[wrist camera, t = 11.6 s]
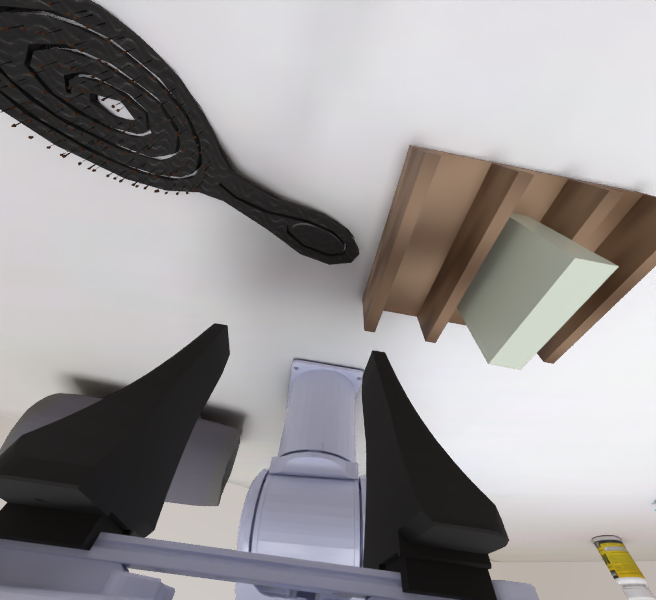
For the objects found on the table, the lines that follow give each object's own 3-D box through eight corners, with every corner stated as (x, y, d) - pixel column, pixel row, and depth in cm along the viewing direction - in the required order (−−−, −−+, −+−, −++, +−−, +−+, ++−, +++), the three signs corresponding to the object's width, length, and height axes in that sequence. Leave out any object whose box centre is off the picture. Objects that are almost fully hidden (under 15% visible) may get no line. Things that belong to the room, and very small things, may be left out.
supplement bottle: (590, 536, 54) (624, 597, 47) (618, 534, 52) (658, 597, 45) (593, 542, 56) (626, 601, 49) (620, 540, 54) (659, 601, 47)
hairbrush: (327, 308, 21) (-90, 98, 13) (328, 283, 24) (-12, 100, 16) (395, 223, 16) (-166, -163, 9) (386, 206, 19) (-39, -94, 12)
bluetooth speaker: (247, 407, 34) (216, 497, 26) (242, 439, 40) (214, 522, 32) (67, 368, 32) (-29, 453, 24) (87, 407, 37) (15, 488, 29)
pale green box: (474, 300, 21) (520, 369, 15) (450, 296, 21) (488, 364, 15) (527, 215, 17) (618, 266, 11) (498, 209, 17) (575, 258, 11)
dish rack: (525, 329, 23) (553, 363, 20) (362, 300, 23) (364, 330, 20) (640, 192, 16) (712, 211, 13) (409, 145, 16) (425, 152, 13)
